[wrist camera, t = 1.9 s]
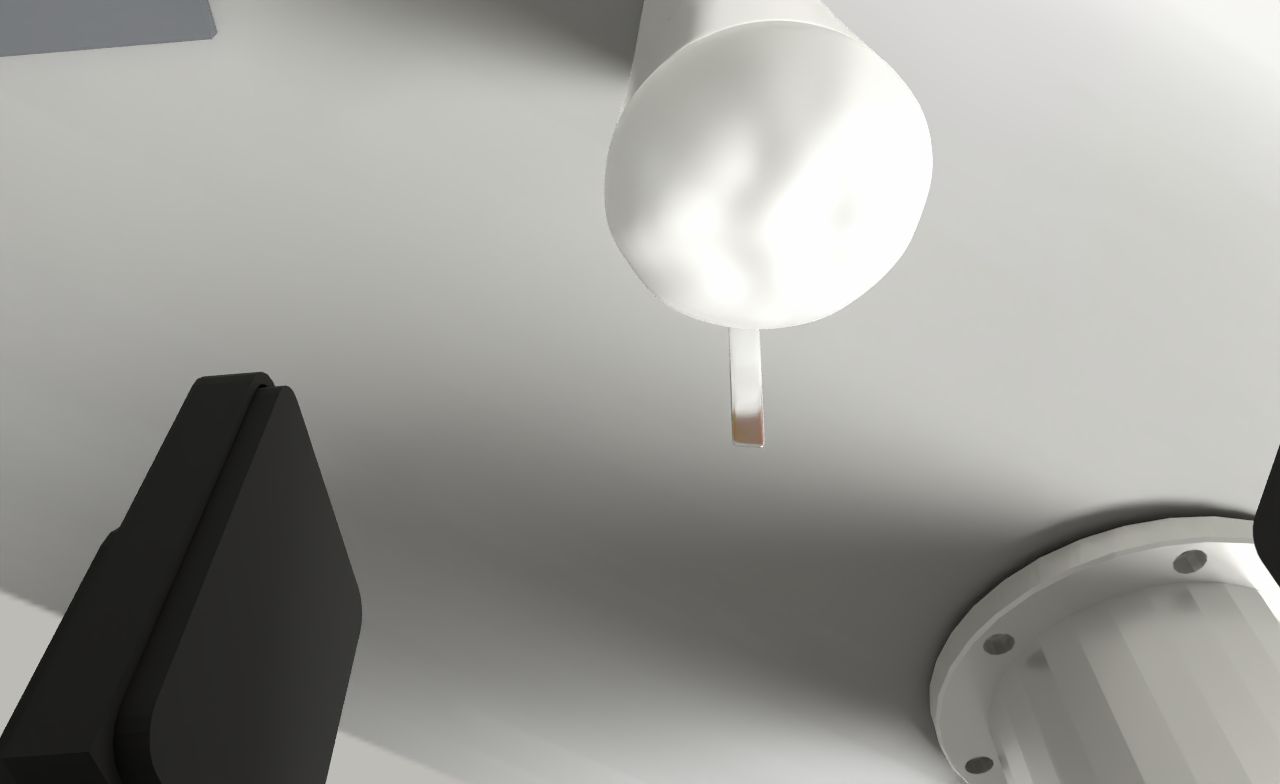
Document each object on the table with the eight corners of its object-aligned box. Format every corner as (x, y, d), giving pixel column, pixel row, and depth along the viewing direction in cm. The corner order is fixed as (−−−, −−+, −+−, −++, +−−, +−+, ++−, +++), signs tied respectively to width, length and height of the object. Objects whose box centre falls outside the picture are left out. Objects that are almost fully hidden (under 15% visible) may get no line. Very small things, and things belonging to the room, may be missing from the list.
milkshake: (596, 156, 23) (586, 437, 15) (618, -114, 20) (621, 56, 12) (803, 174, 24) (903, 458, 16) (855, -89, 21) (1013, 93, 13)
